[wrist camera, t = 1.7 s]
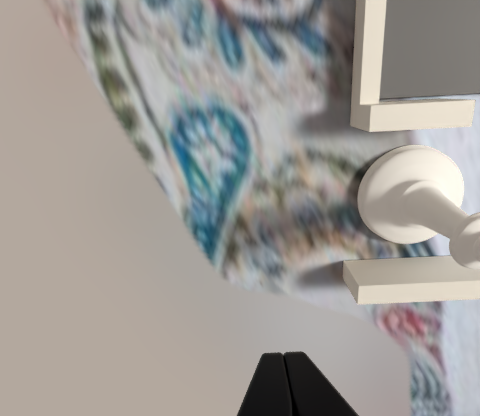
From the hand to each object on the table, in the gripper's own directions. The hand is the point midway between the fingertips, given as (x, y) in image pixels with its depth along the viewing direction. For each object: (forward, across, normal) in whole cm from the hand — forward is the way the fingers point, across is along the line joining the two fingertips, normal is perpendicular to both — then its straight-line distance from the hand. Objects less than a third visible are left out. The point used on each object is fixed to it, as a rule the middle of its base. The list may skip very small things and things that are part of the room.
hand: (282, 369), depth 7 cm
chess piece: (+11, -7, 0) cm, 13 cm away
